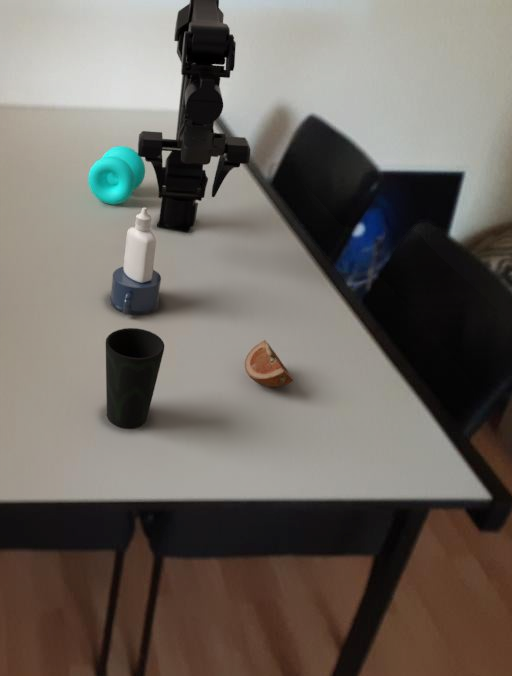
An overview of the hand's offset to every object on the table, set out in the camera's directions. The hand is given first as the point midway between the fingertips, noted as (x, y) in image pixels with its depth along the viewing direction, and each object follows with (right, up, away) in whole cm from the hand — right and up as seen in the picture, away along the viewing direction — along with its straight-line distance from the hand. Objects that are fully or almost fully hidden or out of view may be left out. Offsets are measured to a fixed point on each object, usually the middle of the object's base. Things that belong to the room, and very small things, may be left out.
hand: (186, 194), depth 150 cm
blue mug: (-10, -20, -6) cm, 23 cm away
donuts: (-10, +6, +31) cm, 33 cm away
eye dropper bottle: (-10, -16, -9) cm, 20 cm away
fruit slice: (+8, -33, -24) cm, 42 cm away
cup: (-14, -38, -32) cm, 52 cm away
